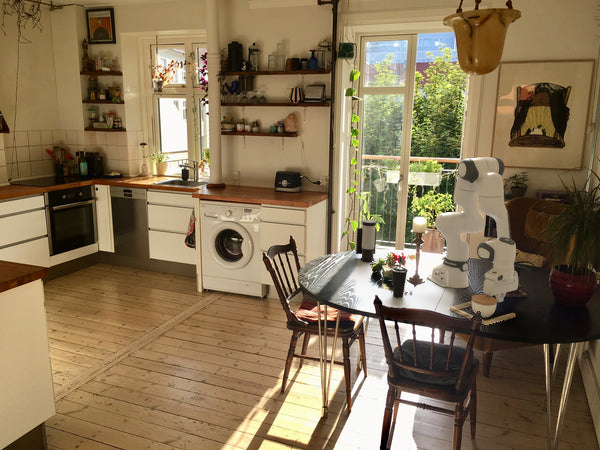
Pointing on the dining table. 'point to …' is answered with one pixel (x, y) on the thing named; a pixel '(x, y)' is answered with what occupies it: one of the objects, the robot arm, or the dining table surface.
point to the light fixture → (366, 240)
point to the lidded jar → (484, 304)
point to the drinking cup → (399, 280)
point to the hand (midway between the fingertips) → (499, 301)
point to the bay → (467, 315)
